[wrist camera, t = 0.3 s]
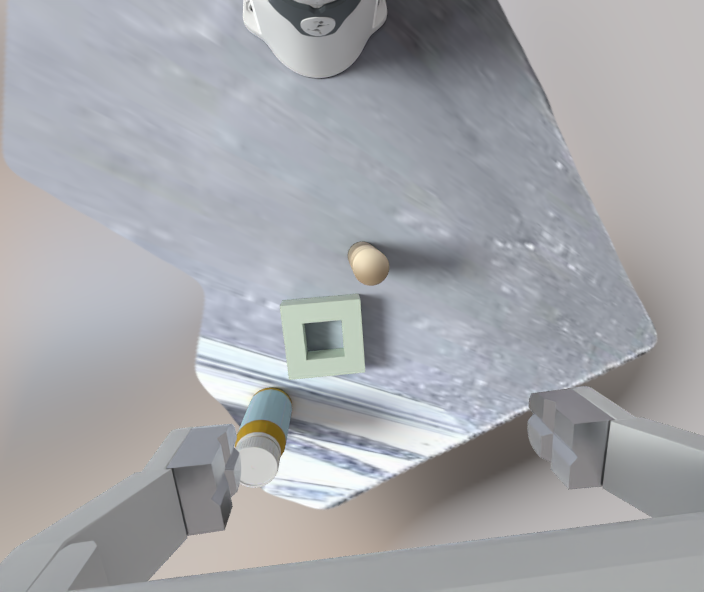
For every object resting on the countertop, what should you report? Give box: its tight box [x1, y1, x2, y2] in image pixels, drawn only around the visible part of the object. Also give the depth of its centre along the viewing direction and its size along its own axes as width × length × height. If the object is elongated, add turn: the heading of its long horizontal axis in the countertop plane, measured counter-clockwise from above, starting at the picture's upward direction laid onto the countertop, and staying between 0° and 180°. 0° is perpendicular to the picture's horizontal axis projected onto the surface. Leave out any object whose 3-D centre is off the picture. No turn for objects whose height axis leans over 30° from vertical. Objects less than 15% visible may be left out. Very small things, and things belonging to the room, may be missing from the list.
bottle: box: [235, 388, 292, 488], centre depth 52 cm, size 7×7×15 cm
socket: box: [280, 294, 365, 380], centre depth 55 cm, size 12×12×4 cm
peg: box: [348, 242, 389, 286], centre depth 48 cm, size 4×4×12 cm
